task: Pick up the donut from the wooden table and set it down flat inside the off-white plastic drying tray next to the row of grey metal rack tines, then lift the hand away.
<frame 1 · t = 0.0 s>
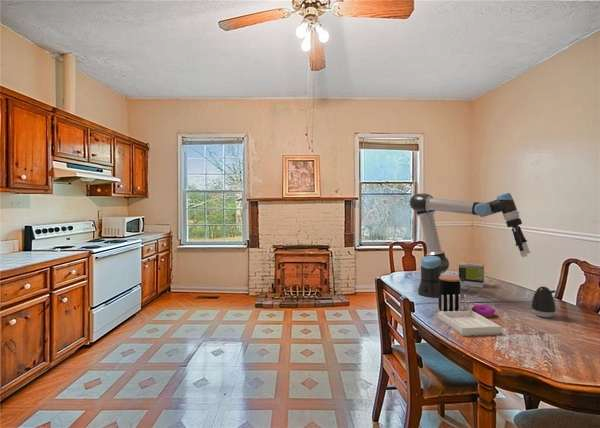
hand: (526, 255, 194), 28 cm above the table, tool tilted 20°, fingers open, 13 cm apart
coffee jar: (449, 311, 183), on the table
donut: (483, 315, 176), on the table
rack tines: (453, 317, 173), on the table
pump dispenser: (543, 316, 174), on the table
drying tray: (467, 325, 161), on the table
tea box: (471, 285, 237), on the table
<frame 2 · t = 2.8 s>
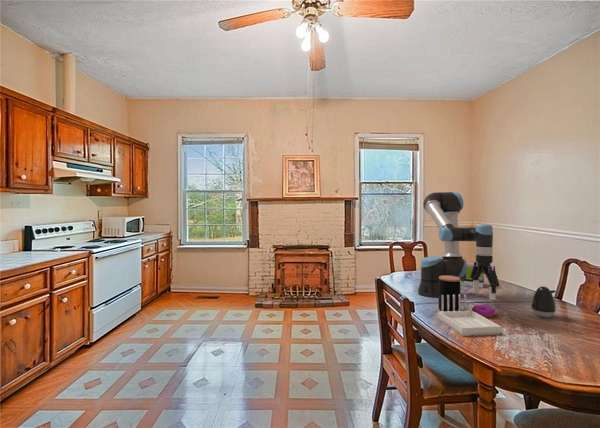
hand: (483, 295, 176), 10 cm above the table, tool pointing down, fingers open, 13 cm apart
nothing on the table moved.
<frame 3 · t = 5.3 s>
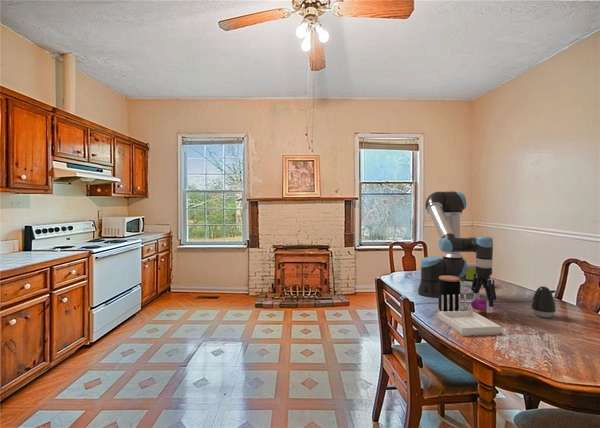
hand: (482, 308, 177), 3 cm above the table, tool pointing down, fingers closed on donut, 10 cm apart
donut: (482, 309, 177), point 2 cm above the table, touching gripper
everything else where it was.
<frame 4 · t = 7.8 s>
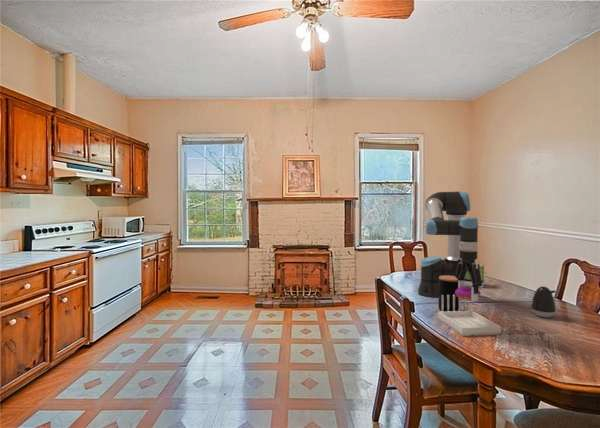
hand: (467, 297, 160), 14 cm above the table, tool pointing down, fingers closed on donut, 10 cm apart
donut: (467, 298, 161), point 13 cm above the table, touching gripper
everything else where it was.
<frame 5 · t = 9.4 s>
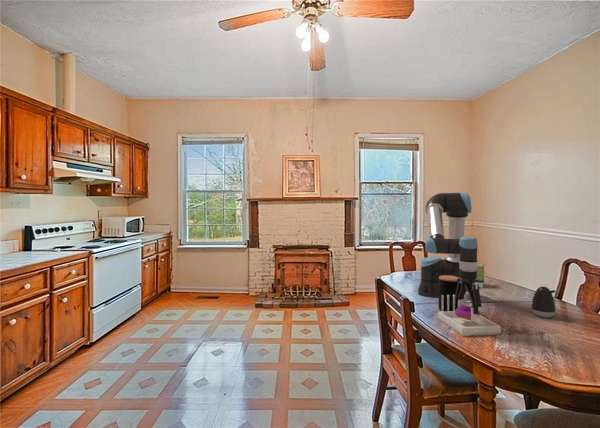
hand: (467, 316, 161), 4 cm above the table, tool pointing down, fingers closed on donut, 10 cm apart
donut: (467, 318, 161), point 4 cm above the table, touching gripper
everything else where it was.
when the fingers open (2 cm above the table, at t = 10.4 s): donut stays where it is, resting on drying tray.
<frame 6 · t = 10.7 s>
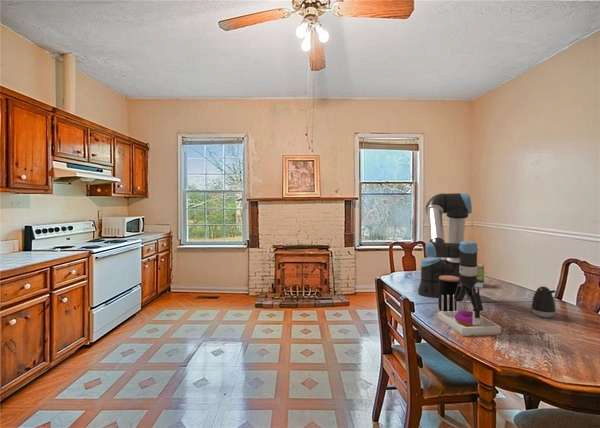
hand: (467, 319, 161), 3 cm above the table, tool pointing down, fingers open, 13 cm apart
donut: (467, 323, 161), point 1 cm above the table, touching drying tray
everything else where it was.
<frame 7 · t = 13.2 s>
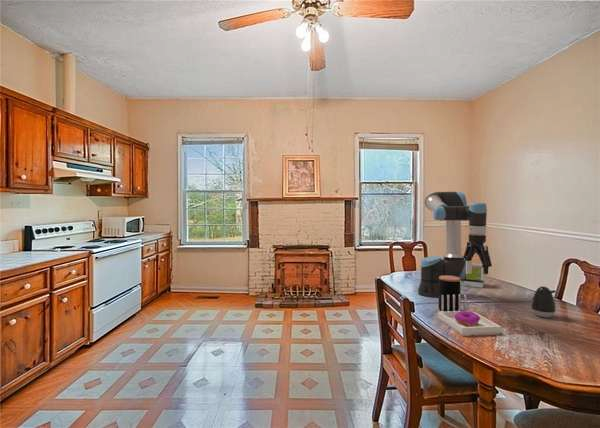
hand: (476, 276, 169), 21 cm above the table, tool pointing down, fingers open, 13 cm apart
nothing on the table moved.
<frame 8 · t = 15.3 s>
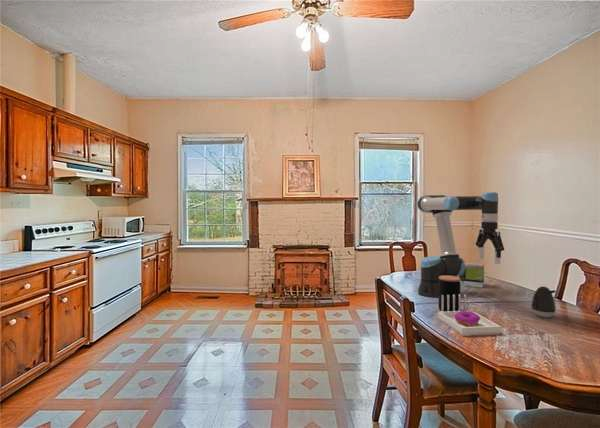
hand: (488, 261, 181), 27 cm above the table, tool pointing down, fingers open, 13 cm apart
nothing on the table moved.
at the end: donut inside the target area on the drying tray (0.1 cm from its centre), point 1.3 cm above the drying tray's base; the gripper is holding nothing; donut tilted 0° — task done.
